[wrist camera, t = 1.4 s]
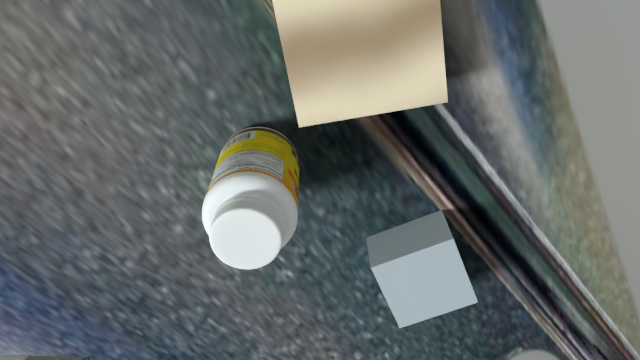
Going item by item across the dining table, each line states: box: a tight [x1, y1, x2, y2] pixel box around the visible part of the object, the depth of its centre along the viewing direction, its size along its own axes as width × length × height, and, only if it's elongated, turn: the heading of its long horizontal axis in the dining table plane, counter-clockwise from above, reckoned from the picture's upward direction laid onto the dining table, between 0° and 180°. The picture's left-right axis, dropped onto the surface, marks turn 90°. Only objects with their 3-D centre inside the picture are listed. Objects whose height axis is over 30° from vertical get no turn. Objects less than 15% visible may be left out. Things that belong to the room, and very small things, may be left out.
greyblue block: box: [366, 210, 478, 328], centre depth 42 cm, size 6×6×4 cm
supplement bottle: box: [202, 127, 299, 269], centre depth 35 cm, size 6×6×10 cm
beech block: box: [272, 0, 448, 127], centre depth 33 cm, size 9×9×4 cm
